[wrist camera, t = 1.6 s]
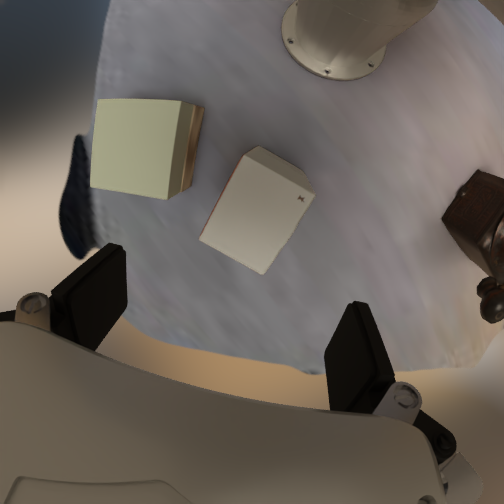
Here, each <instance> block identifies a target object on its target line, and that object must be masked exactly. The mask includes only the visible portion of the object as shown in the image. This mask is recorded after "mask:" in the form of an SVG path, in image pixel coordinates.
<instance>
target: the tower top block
mask: <svg viewBox="0 0 504 504" xmlns="http://www.w3.org/2000/svg"><path fill="white" fill-rule="evenodd" d="M193 107H194V105H193V104H190V103H187V102H183V101H174V100H156V99H98V104H97V111H96V118H95V126H94V135H93V146H92V159H91V179H90V187H94V188H100V189H106V190H113V191H119V192H124V193H130V194H136V195H142V196H147V197H153V198H158V199H164V200H168V199H170V198H171V197H173V196H174V195H176V194H178V193H179V192H181V184H182V176H183V168H184V161H185V155H186V148H187V142H188V135H189V129H190V124H191V118H192V112H193Z"/></svg>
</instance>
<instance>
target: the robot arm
mask: <svg viewBox="0 0 504 504" xmlns="http://www.w3.org/2000/svg"><path fill="white" fill-rule="evenodd" d="M478 1H479V2H480V3H481V4H482V5H484V6H485V7H486V8H487V9H488V10H489V11H490V12H491V13H492V14H493V15H494V16H495V17H496V18H497V19H498V20H499V21H500V22H501V23H502V24H503V25H504V0H478ZM437 3H438V0H296V1H295V2H294V3H293V4H292V5H290V6H289V8H288V9H287V11H286V12H285V14H284V17H283V19H282V26H281V33H282V38H283V42H284V44H285V47H286V49H287V51H288V52H289V53H290V55H291V56H292V58H293V59H294V60H295V61H296V62H297V63H299V64H300V65H301V66H302V67H304V68H305V69H306V70H308V71H310V72H312V73H314V74H316V75H318V76H320V77H323V78H326V79H331V80H337V81H349V80H356V79H359V78H362V77H364V76H366V75H368V74H370V73H372V72H373V71H374V70H375V69H377V68H378V66H379V65H380V64H381V62H382V61H383V58H384V56H385V52H386V44H387V43H389V42H390V41H391V40H393V39H394V38H395V37H397V36H398V35H400V34H401V33H402V32H404V31H405V30H407V29H408V28H409V27H411V26H412V25H414V24H415V23H416V22H418V21H419V20H421V19H422V18H423V17H425V16H426V15H428V14H429V13H430V12H431V11H432V10H433V9H434V7H435V6H436V4H437ZM290 41H292V42H293V44H290V43H289V42H290ZM368 64H370V65H371V67H369V66H368ZM325 71H328V72H329V74H326V73H325ZM51 294H52V295H51V296H50V297H49V298H48V297H47V295H45V294H43V293H39V292H33V293H29V294H27V295H25V296H23V297H22V298H21V299H20V300H19V301H18V303H17V306H16V310H12V311H6V312H1V313H0V504H475V503H476V501H477V500H478V499H479V497H480V496H481V494H482V491H483V482H482V480H481V478H480V476H479V475H478V474H477V473H476V471H475V470H474V469H473V468H472V466H471V465H470V464H469V462H468V461H467V460H466V459H465V458H464V456H463V455H462V454H461V453H460V452H458V453H456V452H455V451H456V440H455V437H454V436H453V434H452V433H451V432H450V431H449V430H447V429H446V428H445V427H443V426H442V425H441V424H439V423H438V422H437V421H435V420H434V419H433V418H431V417H430V416H428V415H427V414H426V413H424V412H423V411H422V410H420V408H421V405H422V398H421V395H420V393H419V392H418V390H417V389H416V388H415V387H414V386H412V385H411V384H409V383H406V382H396V381H395V378H394V376H395V374H394V371H393V368H392V366H391V363H390V360H389V357H388V354H387V351H386V349H385V346H384V343H383V341H382V338H381V335H380V333H379V330H378V328H377V325H376V323H375V320H374V317H373V315H372V313H371V310H370V308H369V305H368V304H367V303H364V302H359V301H354V302H353V303H352V304H351V303H349V304H348V305H347V307H346V309H345V312H344V314H343V316H342V318H341V320H340V322H339V324H338V326H337V328H336V330H335V332H334V334H333V336H332V338H331V340H330V342H329V344H328V346H327V348H326V350H325V354H324V361H325V369H326V377H327V386H328V394H329V404H330V410H320V409H313V408H304V407H297V406H289V405H282V404H276V403H270V402H264V401H259V400H253V399H248V398H243V397H239V396H234V395H229V394H225V393H220V392H216V391H212V390H208V389H204V388H200V387H196V386H192V385H189V384H186V383H182V382H179V381H175V380H172V379H169V378H165V377H162V376H159V375H156V374H153V373H150V372H147V371H144V370H141V369H139V368H136V367H133V366H130V365H127V364H125V363H122V362H120V361H117V360H114V359H112V358H109V357H107V356H104V355H102V354H100V353H97V352H95V350H96V349H97V348H98V346H99V345H100V343H101V342H102V341H103V339H104V338H105V336H106V335H107V334H108V332H109V331H110V329H111V328H112V327H113V326H114V324H115V323H116V321H117V320H118V319H119V317H120V316H121V315H122V314H123V312H124V311H125V309H126V307H127V303H128V300H127V279H126V251H125V250H123V247H122V246H121V245H117V244H113V243H108V244H107V245H106V246H104V247H103V248H102V249H100V250H99V251H98V252H97V253H95V254H94V255H93V256H92V257H90V258H89V259H88V260H87V261H85V262H84V263H83V264H82V265H80V266H79V267H78V268H77V269H76V270H75V271H73V272H72V273H71V274H70V275H69V276H67V278H65V279H64V280H63V281H62V282H60V283H59V284H58V285H57V286H56V287H55V288H54V289H53V290H52V291H51Z"/></svg>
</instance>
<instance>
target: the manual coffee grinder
mask: <svg viewBox="0 0 504 504" xmlns="http://www.w3.org/2000/svg"><path fill="white" fill-rule="evenodd" d="M442 221H443V222H444V224H445V226H446V228H447V229H448V231H449V233H450V234H451V235H452V237H453V238H454V240H455V241H456V242H457V244H458V245H459V247H460V248H461V250H462V251H463V252H464V253H465V254H466V255H467V256H468V257H469V259H470V260H472V261H473V262H474V263H475V264H477V265H478V266H479V267H480V268H481V269H482V270H483V271H484V272H485V273H486V274H487V275H488V276H489V277H487V278H484V279H482V281H481V282H480V283H479V285H478V286H477V295H478V296H479V297H481V298H482V300H481V303H480V313H481V316H482V318H483V319H484V320H486V321H487V322H489V323H491V324H492V323H496V322H499V321H501V320H502V319H504V179H503V178H500V177H497V176H495V175H492V174H489V173H486V172H482V171H480V170H477V171H476V173H475V174H474V175H473V176H472V177H471V179H470V180H469V181H468V182H467V183H466V185H465V186H464V187H463V188H462V189H461V190H460V192H459V193H458V194H457V196H456V198H455V200H454V201H453V202H452V204H451V205H450V207H449V208H448V209H447V211H446V213H445V215H444V217H443V218H442Z"/></svg>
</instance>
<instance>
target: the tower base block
mask: <svg viewBox="0 0 504 504" xmlns="http://www.w3.org/2000/svg"><path fill="white" fill-rule="evenodd" d="M203 113H204V108H203V107H200V106H196V105H194V107H193V112H192V118H191V124H190V129H189V135H188V142H187V148H186V155H185V161H184V168H183V176H182V184H181V192H183V191H184V190H186V189H187V188H189V187H191V183H192V177H193V170H194V164H195V158H196V152H197V146H198V140H199V135H200V129H201V124H202V119H203Z"/></svg>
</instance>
